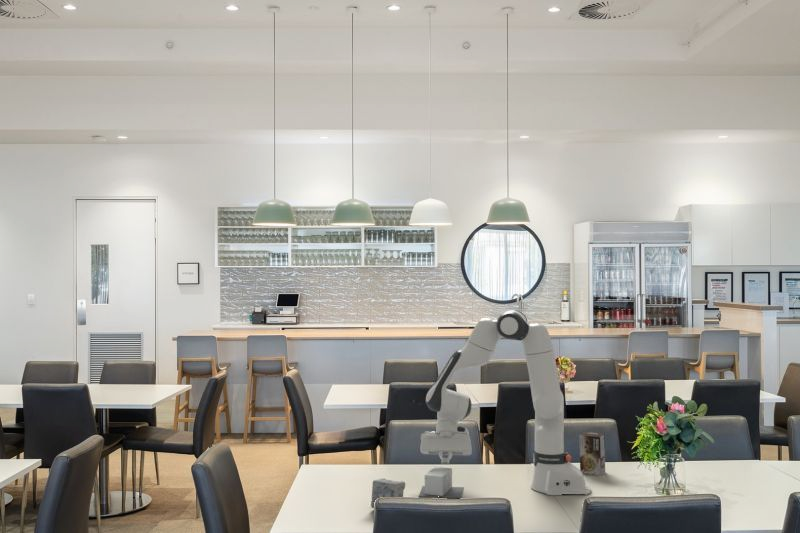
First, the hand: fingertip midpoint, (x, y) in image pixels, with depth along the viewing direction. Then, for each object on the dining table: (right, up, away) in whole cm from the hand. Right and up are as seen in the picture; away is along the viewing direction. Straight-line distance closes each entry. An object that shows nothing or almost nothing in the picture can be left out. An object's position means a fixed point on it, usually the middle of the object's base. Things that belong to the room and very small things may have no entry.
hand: (445, 463), depth 274 cm
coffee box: (+63, -10, +20) cm, 67 cm away
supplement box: (0, -6, +2) cm, 6 cm away
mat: (-2, -10, -5) cm, 11 cm away
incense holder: (-22, -10, -24) cm, 34 cm away
